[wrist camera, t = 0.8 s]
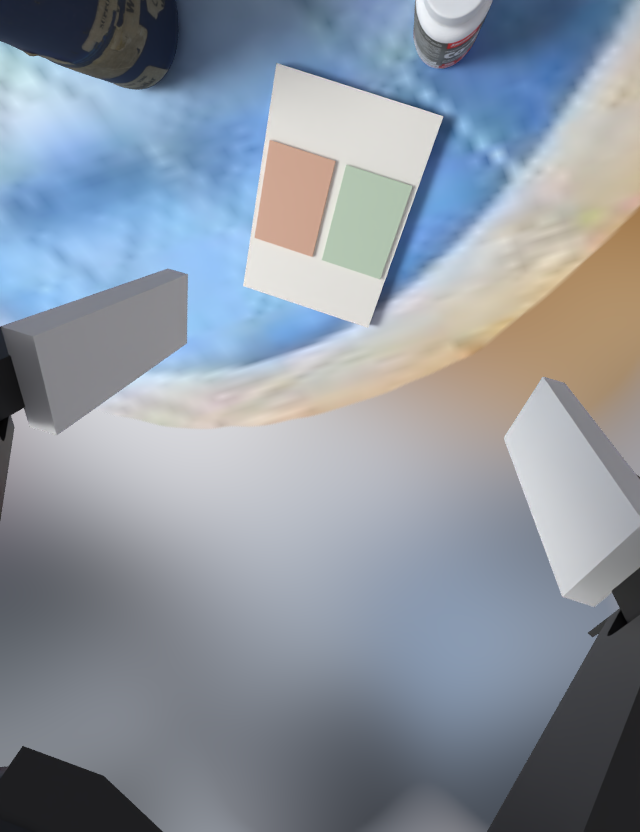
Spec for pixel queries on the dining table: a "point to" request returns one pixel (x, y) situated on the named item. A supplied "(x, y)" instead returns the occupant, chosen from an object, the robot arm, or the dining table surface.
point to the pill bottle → (447, 29)
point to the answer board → (334, 193)
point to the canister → (96, 36)
